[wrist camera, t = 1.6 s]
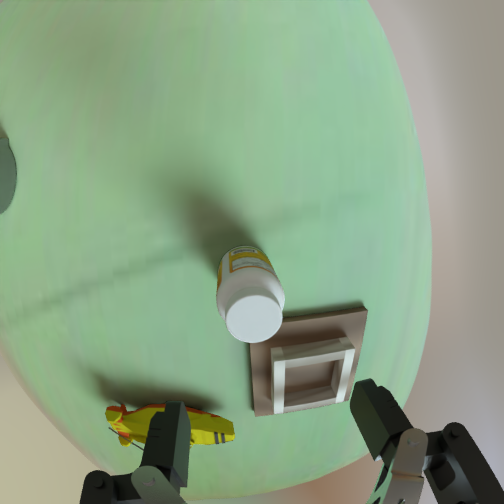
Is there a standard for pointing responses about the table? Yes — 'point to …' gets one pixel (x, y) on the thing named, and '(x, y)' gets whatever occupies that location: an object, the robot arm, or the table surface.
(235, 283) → the supplement bottle
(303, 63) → the table surface
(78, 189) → the table surface
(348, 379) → the jig board
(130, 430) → the toy boat
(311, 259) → the table surface
